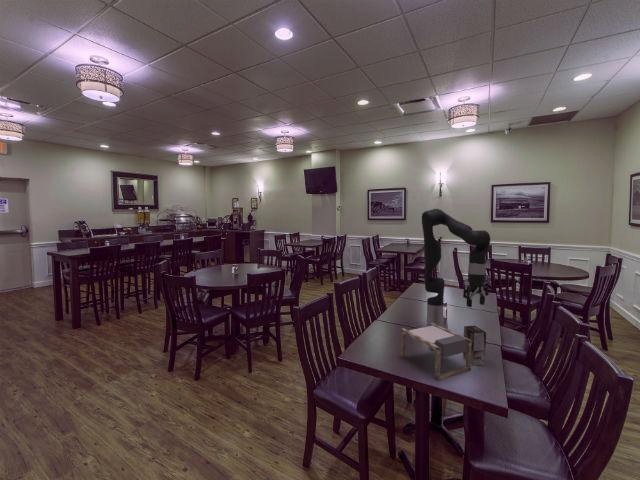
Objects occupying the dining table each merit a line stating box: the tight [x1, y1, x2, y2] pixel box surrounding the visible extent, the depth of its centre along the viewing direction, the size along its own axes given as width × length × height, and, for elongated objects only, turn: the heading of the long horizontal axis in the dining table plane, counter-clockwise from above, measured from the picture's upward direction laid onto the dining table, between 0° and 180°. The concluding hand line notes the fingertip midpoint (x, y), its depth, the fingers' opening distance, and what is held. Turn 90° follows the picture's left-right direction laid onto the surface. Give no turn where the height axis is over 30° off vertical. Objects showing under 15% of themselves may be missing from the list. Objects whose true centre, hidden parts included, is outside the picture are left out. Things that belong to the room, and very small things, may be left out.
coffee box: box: [462, 325, 487, 366], centre depth 148 cm, size 9×6×16 cm
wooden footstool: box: [400, 323, 472, 381], centre depth 146 cm, size 24×20×14 cm
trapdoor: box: [408, 326, 467, 359], centre depth 144 cm, size 22×16×6 cm
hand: (475, 305), depth 146 cm, fingers open, 8 cm apart
